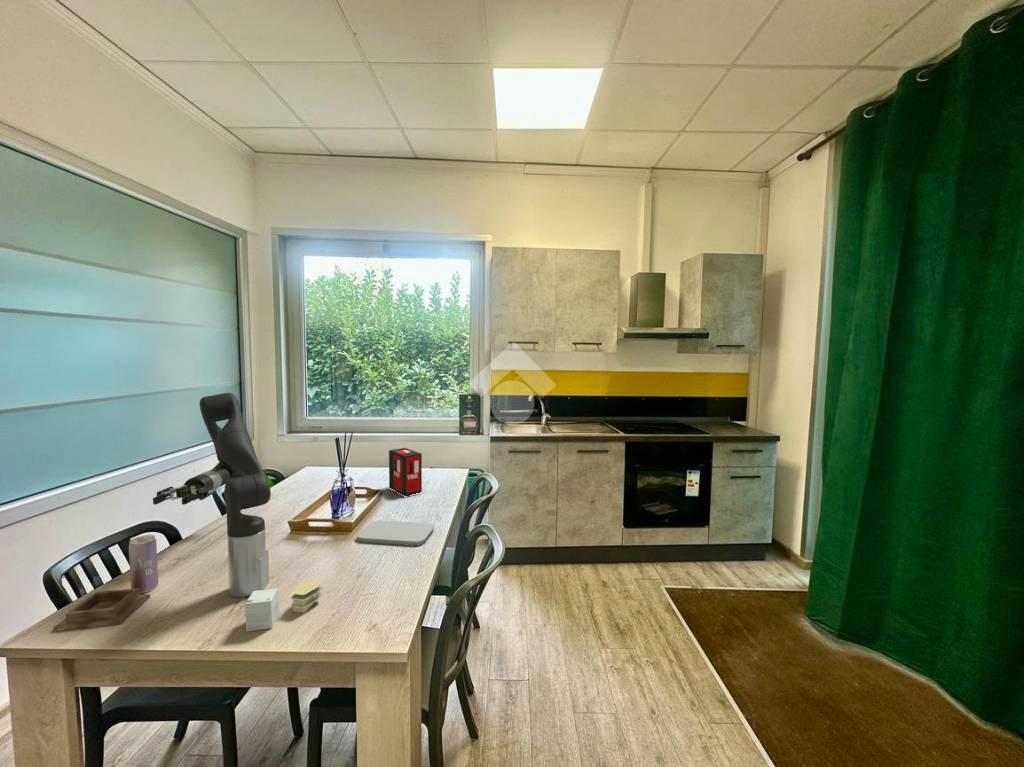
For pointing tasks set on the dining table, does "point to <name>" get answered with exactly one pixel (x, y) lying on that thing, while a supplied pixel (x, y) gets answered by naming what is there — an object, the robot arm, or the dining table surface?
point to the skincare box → (262, 609)
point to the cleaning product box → (405, 471)
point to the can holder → (103, 609)
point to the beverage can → (143, 563)
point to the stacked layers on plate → (306, 595)
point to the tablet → (395, 532)
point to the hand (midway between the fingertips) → (168, 501)
